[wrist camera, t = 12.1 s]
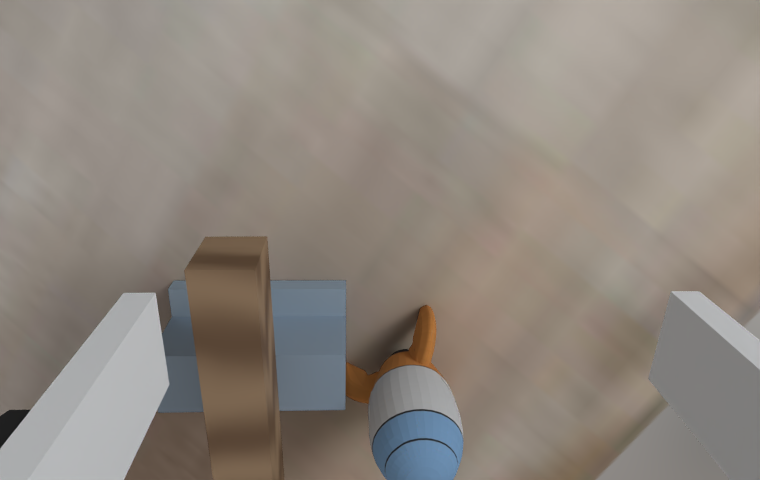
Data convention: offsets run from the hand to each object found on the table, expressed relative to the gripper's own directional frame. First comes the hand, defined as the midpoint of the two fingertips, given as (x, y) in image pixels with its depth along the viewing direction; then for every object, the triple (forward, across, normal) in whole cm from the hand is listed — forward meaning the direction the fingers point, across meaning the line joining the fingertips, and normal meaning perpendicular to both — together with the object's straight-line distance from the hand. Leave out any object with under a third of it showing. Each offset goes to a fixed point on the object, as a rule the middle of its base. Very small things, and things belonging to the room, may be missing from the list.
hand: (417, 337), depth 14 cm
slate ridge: (+29, -9, -18) cm, 35 cm away
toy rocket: (+29, +4, -20) cm, 35 cm away
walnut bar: (+22, -9, -18) cm, 30 cm away
